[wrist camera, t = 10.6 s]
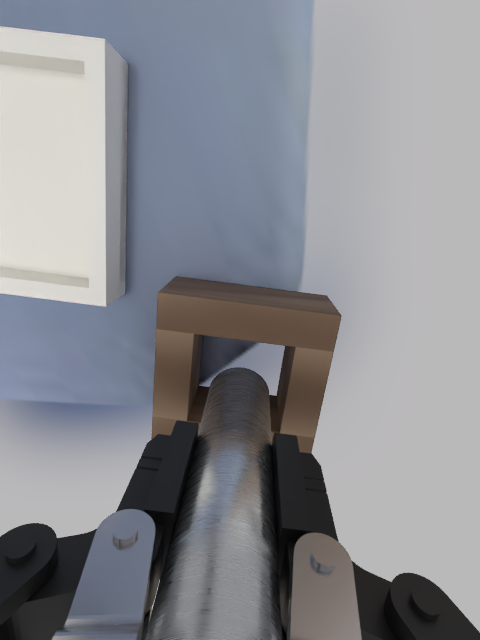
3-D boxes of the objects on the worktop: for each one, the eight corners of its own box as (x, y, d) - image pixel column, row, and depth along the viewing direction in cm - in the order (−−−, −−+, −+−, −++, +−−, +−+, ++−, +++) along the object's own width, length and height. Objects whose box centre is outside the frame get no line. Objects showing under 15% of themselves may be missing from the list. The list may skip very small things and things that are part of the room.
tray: (-106, 35, 16) (-171, 6, 13) (128, 63, 16) (104, 38, 13) (-68, 269, 19) (-114, 278, 17) (125, 293, 19) (106, 306, 17)
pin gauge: (211, 363, 15) (55, 920, 3) (273, 371, 15) (322, 956, 3) (206, 416, 16) (68, 997, 4) (264, 423, 16) (280, 1029, 4)
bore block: (176, 276, 19) (157, 292, 15) (326, 295, 18) (341, 315, 15) (168, 406, 21) (151, 444, 18) (300, 424, 21) (308, 465, 18)
